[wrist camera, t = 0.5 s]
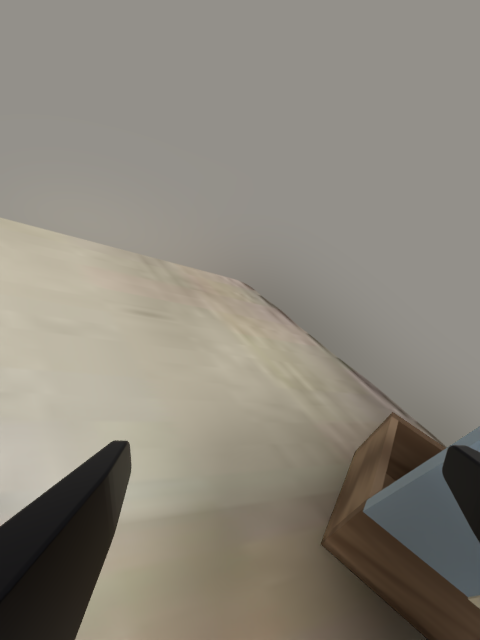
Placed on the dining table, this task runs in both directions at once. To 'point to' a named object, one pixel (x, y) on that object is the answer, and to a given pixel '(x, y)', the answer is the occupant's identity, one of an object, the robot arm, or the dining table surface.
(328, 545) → the walnut box
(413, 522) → the box lid
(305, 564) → the dining table surface
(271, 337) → the dining table surface
